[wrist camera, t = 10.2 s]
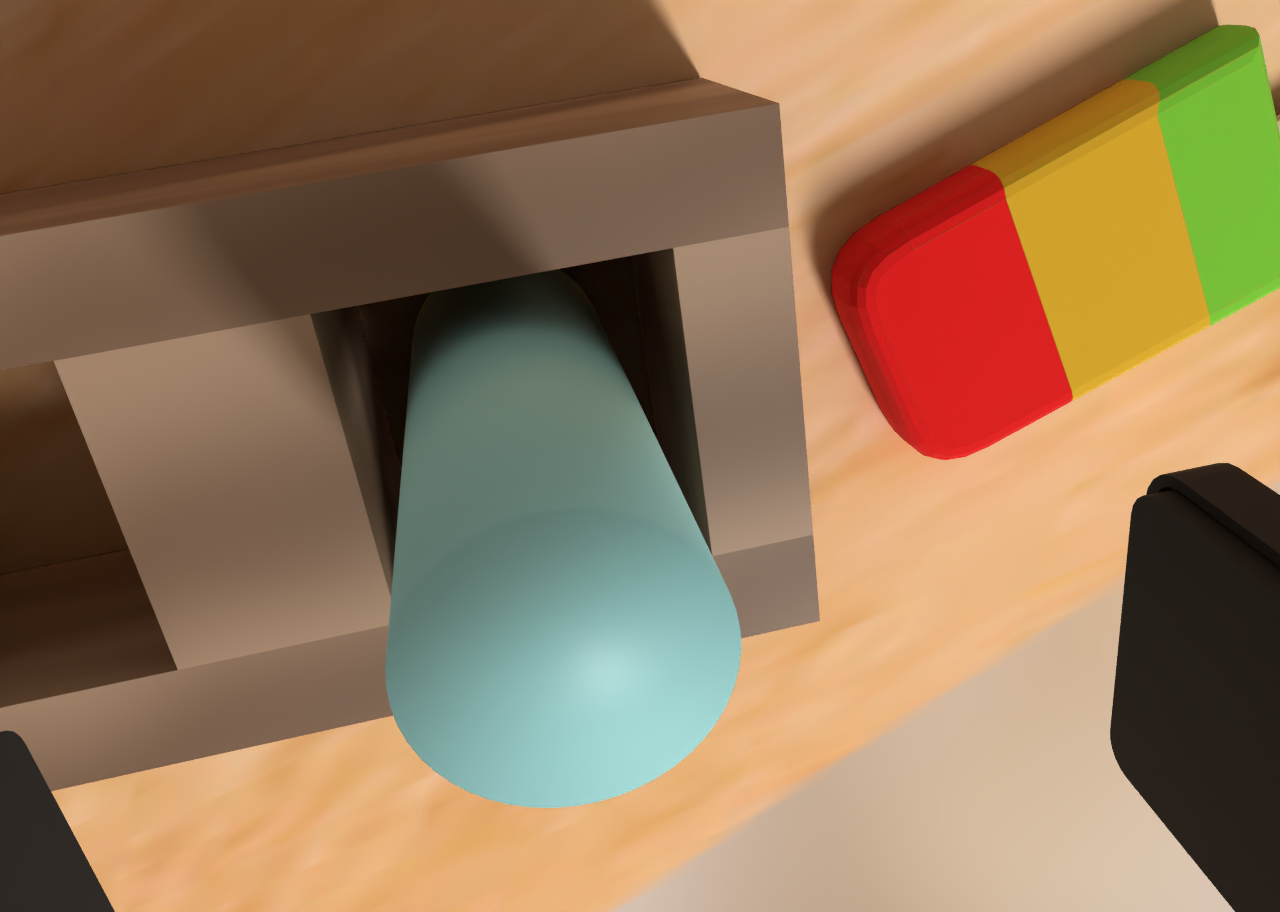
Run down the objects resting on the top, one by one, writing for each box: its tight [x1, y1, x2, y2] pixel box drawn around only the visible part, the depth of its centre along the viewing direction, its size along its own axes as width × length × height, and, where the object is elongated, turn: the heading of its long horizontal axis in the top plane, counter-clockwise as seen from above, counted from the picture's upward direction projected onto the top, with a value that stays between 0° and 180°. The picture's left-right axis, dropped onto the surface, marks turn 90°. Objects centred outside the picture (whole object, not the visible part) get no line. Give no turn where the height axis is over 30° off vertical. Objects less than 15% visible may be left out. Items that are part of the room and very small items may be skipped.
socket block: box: [0, 78, 820, 791], centre depth 18 cm, size 9×18×5 cm, turn 98°
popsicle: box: [832, 25, 1280, 460], centre depth 22 cm, size 6×15×2 cm, turn 118°
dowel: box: [385, 269, 741, 808], centre depth 16 cm, size 4×4×11 cm
